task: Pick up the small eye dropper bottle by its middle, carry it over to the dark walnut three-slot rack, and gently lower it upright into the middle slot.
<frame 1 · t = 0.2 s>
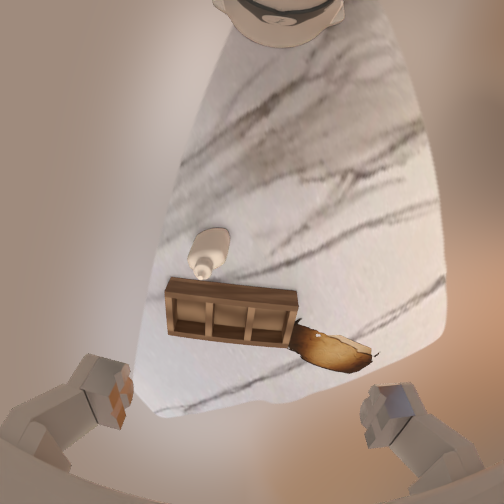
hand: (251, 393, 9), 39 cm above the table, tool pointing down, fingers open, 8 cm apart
slot rack: (231, 306, 56), on the table
parchment: (329, 348, 62), on the table
eye dropper bottle: (213, 237, 50), on the table
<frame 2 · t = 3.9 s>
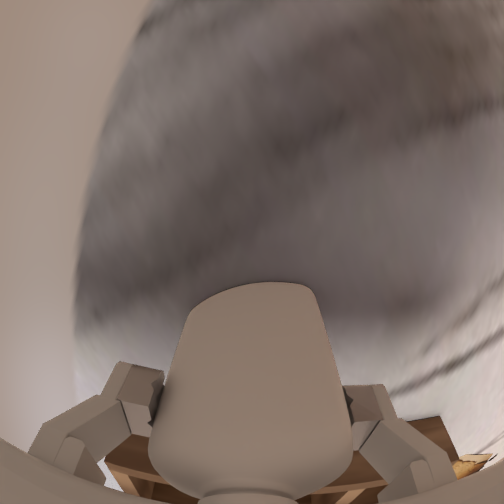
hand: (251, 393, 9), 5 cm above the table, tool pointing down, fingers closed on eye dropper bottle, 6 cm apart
slot rack: (284, 463, 19), on the table
parchment: (438, 472, 24), on the table
eye dropper bottle: (253, 313, 13), on the table, touching gripper
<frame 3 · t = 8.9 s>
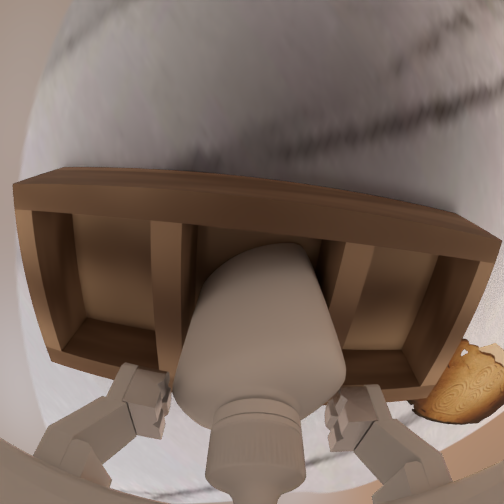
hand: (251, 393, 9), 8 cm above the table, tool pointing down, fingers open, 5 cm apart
slot rack: (254, 274, 16), on the table
parchment: (466, 381, 21), on the table
eye dropper bottle: (257, 277, 16), point 1 cm above the table, touching gripper, slot rack
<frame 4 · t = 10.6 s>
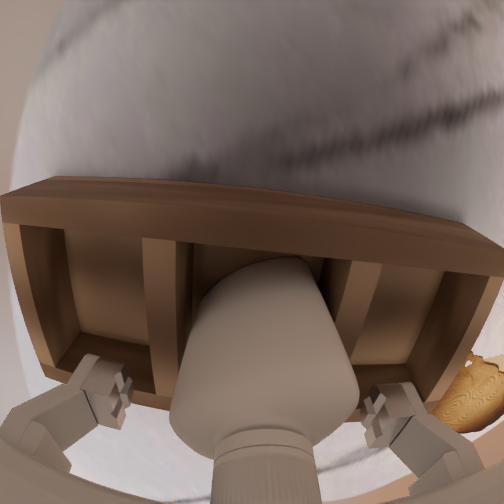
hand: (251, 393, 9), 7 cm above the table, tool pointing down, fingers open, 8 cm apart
slot rack: (253, 289, 16), on the table
parchment: (470, 391, 20), on the table
eye dropper bottle: (257, 294, 15), point 1 cm above the table, touching slot rack
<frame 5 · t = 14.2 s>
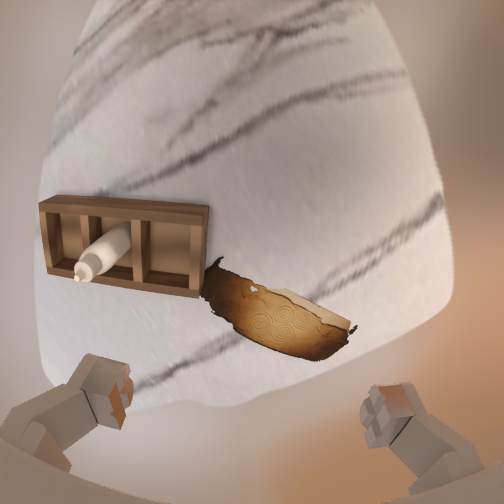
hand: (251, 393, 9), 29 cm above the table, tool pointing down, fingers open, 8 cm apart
slot rack: (124, 236, 38), on the table
parchment: (276, 316, 43), on the table
eye dropper bottle: (122, 236, 37), point 1 cm above the table, touching slot rack
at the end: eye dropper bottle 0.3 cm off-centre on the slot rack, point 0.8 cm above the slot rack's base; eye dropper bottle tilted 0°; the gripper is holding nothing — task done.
